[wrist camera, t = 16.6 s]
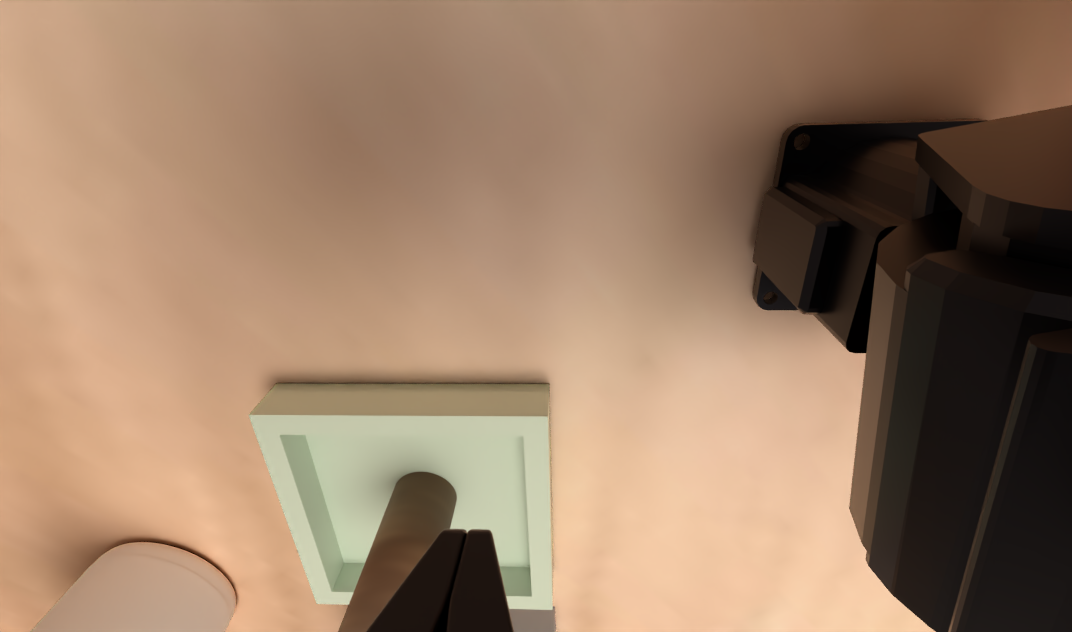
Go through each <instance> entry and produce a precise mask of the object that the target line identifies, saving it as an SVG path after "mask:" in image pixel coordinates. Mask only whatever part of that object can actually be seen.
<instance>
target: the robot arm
mask: <svg viewBox="0 0 1072 632" xmlns="http://www.w3.org/2000/svg"><path fill="white" fill-rule="evenodd" d="M799 134H804V135H805V141H804V143H803V144H802V145H801V146H800V147H798V148H795V147H794V140H795V138H796V137H797V136H798V135H799ZM753 262H754V263H755V264H756V265H757V266H758V270H757V275H756V280H755V286H754V291H753V299H754V300H755V302H756V303H757V305H758V306H759V307H760V308H762V309H764V310H799V311H800V312H801V313H802V314H813V315H814V316H815V317H816V318H817V319H818V320H819V321H820V322H821V323H822V324H823V325H824V326H825V327H826V328H827V329H828V330H829V331H830V332H831V333H832V334H833V336H834V337H835V338H836V339H837V340H838V341H839V342H840V343H841V344H842V345H843V346H844V347H845V348H846V349H847V350H848V351H849V352H853V353H866V361H865V370H864V379H863V388H862V397H861V406H860V415H859V424H858V433H857V442H856V451H855V460H854V469H853V478H852V487H851V497H850V506H849V509H850V512H851V514H852V517H853V520H854V523H855V526H856V528H857V531H858V534H859V537H860V539H861V542H862V544H863V546H864V547H865V549H866V550H867V553H866V561H867V563H868V566H869V567H870V568H871V569H872V571H873V572H874V573H875V574H876V576H877V577H878V578H879V579H880V580H881V582H882V583H883V584H884V585H885V587H886V588H887V589H888V590H889V591H890V593H891V594H892V595H893V596H894V597H896V598H897V599H898V600H899V601H900V602H901V603H902V604H904V605H905V606H906V607H907V608H908V609H909V610H911V611H912V612H913V613H914V614H915V615H916V616H917V617H919V618H920V619H921V620H922V621H923V622H924V623H926V624H927V625H928V626H929V627H930V628H932V629H933V630H935V631H936V632H1072V105H1071V106H1065V107H1060V108H1054V109H1049V110H1044V111H1038V112H1033V113H1027V114H1022V115H1017V116H1011V117H1006V118H1000V119H995V120H982V119H961V120H922V121H883V122H845V123H806V124H796V125H793V126H791V127H790V128H788V129H787V130H786V132H785V133H784V134H783V137H782V139H781V143H780V149H779V154H778V160H777V165H776V171H775V176H774V182H773V187H771V188H770V189H769V190H768V191H767V192H766V193H765V194H764V198H763V204H762V210H761V215H760V221H759V227H758V232H757V238H756V244H755V249H754V255H753ZM768 292H774V294H773V296H772V297H771V298H770V299H767V300H764V299H763V298H764V296H765V294H767V293H768ZM366 632H514V629H513V625H512V620H511V616H510V611H509V606H508V602H507V597H506V593H505V588H504V584H503V579H502V575H501V570H500V566H499V561H498V557H497V552H496V548H495V543H494V539H493V534H492V532H491V531H490V530H488V529H471V530H469V531H468V532H467V531H466V530H465V529H444V530H443V531H441V532H440V534H439V535H438V536H437V537H436V539H435V540H434V541H433V543H432V544H431V545H430V547H429V548H428V549H427V551H426V552H425V553H424V555H423V556H422V557H421V559H420V560H419V561H418V563H417V564H416V565H415V567H414V568H413V569H412V571H411V572H410V573H409V575H408V576H407V577H406V579H405V580H404V581H403V583H402V584H401V585H400V587H399V588H398V589H397V591H396V592H395V593H394V595H393V596H392V597H391V599H390V600H389V601H388V603H387V604H386V605H385V607H384V608H383V609H382V610H381V612H380V613H379V614H378V616H377V617H376V618H375V620H374V621H373V622H372V624H371V625H370V626H369V628H368V629H367V630H366Z"/></svg>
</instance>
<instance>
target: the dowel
mask: <svg viewBox="0 0 1072 632" xmlns="http://www.w3.org/2000/svg"><path fill="white" fill-rule="evenodd" d="M456 501H457V495H456V491H455V489H454V487H453V486H452V485H451V484H450V483H449V482H448V481H447V480H446V479H444V478H443V477H441V476H439V475H436V474H434V473H430V472H413V473H409V474H406V475H404V476H403V477H401V478H400V479H399V480H398V481H397V483H396V485H395V487H394V490H393V492H392V495H391V498H390V500H389V503H388V505H387V508H386V510H385V513H384V516H383V518H382V521H381V523H380V526H379V528H378V531H377V534H376V536H375V539H374V541H373V544H372V546H371V549H370V552H369V554H368V557H367V559H366V562H365V564H364V567H363V569H362V572H361V575H360V577H359V580H358V582H357V585H356V587H355V590H354V593H353V595H352V598H351V600H350V603H349V605H348V608H347V611H346V613H345V616H344V618H343V621H342V623H341V626H340V628H339V631H338V632H366V630H367V629H368V628H369V626H370V625H371V624H372V622H373V621H374V620H375V618H376V617H377V616H378V614H379V613H380V612H381V610H382V609H383V608H384V607H385V605H386V604H387V603H388V601H389V600H390V599H391V597H392V596H393V595H394V593H395V592H396V591H397V589H398V588H399V587H400V585H401V584H402V583H403V581H404V580H405V579H406V577H407V576H408V575H409V573H410V572H411V571H412V569H413V568H414V567H415V565H416V564H417V563H418V561H419V560H420V559H421V557H422V556H423V555H424V553H425V552H426V551H427V549H428V548H429V547H430V545H431V544H432V543H433V541H434V540H435V539H436V537H437V536H438V535H439V534H440V532H441V531H443V530H444V529H450V527H451V522H452V518H453V514H454V510H455V506H456Z"/></svg>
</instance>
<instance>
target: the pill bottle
mask: <svg viewBox="0 0 1072 632" xmlns="http://www.w3.org/2000/svg"><path fill="white" fill-rule="evenodd" d="M235 606H236V596H235V592H234V589H233V587H232V585H231V584H230V582H229V581H228V579H227V578H226V577H225V576H224V575H223V574H222V573H221V572H220V571H219V570H218V569H217V568H215V567H214V566H213V565H211V564H210V563H208V562H207V561H205V560H204V559H202V558H200V557H198V556H196V555H194V554H192V553H190V552H187V551H185V550H182V549H179V548H176V547H173V546H169V545H164V544H159V543H151V542H134V543H127V544H123V545H119V546H117V547H114V548H112V549H110V550H109V551H107V552H105V553H104V554H103V555H101V556H100V557H99V558H98V559H97V560H96V561H95V562H94V563H93V564H92V565H90V566H89V567H88V569H87V570H86V571H85V572H84V573H83V574H82V575H81V576H80V577H79V578H78V579H77V581H76V582H75V583H74V584H73V585H72V586H71V587H70V588H69V589H68V590H67V592H66V593H65V594H64V595H63V596H62V597H61V598H60V599H59V600H58V601H57V603H56V604H55V605H54V606H53V607H52V608H51V609H50V610H49V611H48V612H47V614H46V615H45V616H44V617H43V618H42V619H41V620H40V621H39V622H38V623H37V625H36V626H35V627H34V628H33V629H32V630H31V631H30V632H225V630H226V629H227V627H228V625H229V622H230V620H231V618H232V616H233V614H234V611H235Z"/></svg>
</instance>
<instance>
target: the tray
mask: <svg viewBox="0 0 1072 632" xmlns="http://www.w3.org/2000/svg"><path fill="white" fill-rule="evenodd" d="M249 418H250V420H251V423H252V426H253V429H254V431H255V434H256V437H257V440H258V443H259V445H260V448H261V451H262V454H263V456H264V459H265V462H266V465H267V467H268V470H269V473H270V476H271V479H272V481H273V484H274V487H275V490H276V492H277V495H278V498H279V501H280V504H281V506H282V509H283V512H284V515H285V517H286V520H287V523H288V526H289V528H290V531H291V534H292V537H293V540H294V542H295V545H296V548H297V551H298V553H299V556H300V559H301V562H302V564H303V567H304V570H305V573H306V576H307V578H308V581H309V584H310V587H311V589H312V592H313V595H314V598H315V600H316V603H317V604H340V605H349V603H350V600H351V598H352V595H353V593H354V590H355V587H356V585H357V582H358V580H359V577H360V575H361V572H362V569H363V567H364V564H365V562H366V559H367V557H368V554H369V552H370V549H371V546H372V544H373V541H374V539H375V536H376V534H377V531H378V528H379V526H380V523H381V521H382V518H383V516H384V513H385V510H386V508H387V505H388V503H389V500H390V498H391V495H392V492H393V490H394V487H395V485H396V483H397V481H398V480H399V479H400V478H401V477H403V476H404V475H406V474H409V473H413V472H430V473H434V474H436V475H439V476H441V477H443V478H444V479H446V480H447V481H448V482H449V483H450V484H451V485H452V486H453V487H454V489H455V491H456V495H457V501H456V506H455V510H454V514H453V518H452V522H451V527H450V529H465V530H466V531H467V532H468V531H469V530H471V529H488V530H490V531H491V532H492V534H493V539H494V543H495V548H496V552H497V557H498V561H499V566H500V570H501V575H502V579H503V584H504V588H505V593H506V597H507V602H508V606H509V609H534V610H553V533H552V486H551V440H550V393H549V384H298V383H276V384H275V385H274V387H273V388H272V389H271V390H270V391H269V392H268V393H267V395H266V396H265V397H264V398H263V399H262V400H261V401H260V403H259V404H258V405H257V406H256V407H255V408H254V409H253V411H252V412H251V413H250V414H249Z"/></svg>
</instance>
